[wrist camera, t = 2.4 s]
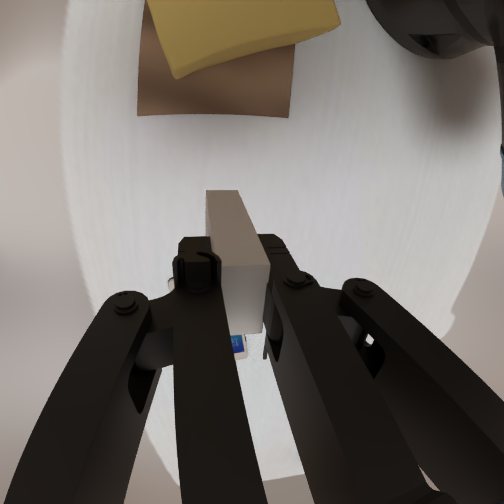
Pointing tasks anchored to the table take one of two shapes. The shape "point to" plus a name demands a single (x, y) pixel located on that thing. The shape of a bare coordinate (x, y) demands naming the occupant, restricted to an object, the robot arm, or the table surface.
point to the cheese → (234, 28)
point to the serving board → (213, 82)
